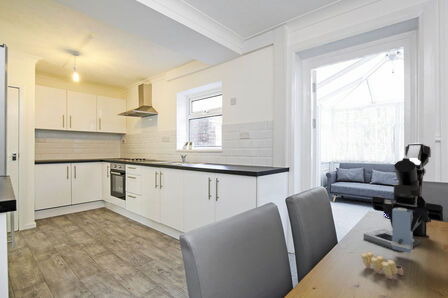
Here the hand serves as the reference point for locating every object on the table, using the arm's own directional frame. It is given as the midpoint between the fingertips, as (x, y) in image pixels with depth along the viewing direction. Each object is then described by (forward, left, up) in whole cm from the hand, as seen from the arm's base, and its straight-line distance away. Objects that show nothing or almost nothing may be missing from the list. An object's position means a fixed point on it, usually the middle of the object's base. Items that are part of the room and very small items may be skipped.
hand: (401, 229), depth 72 cm
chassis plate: (-4, -15, -9) cm, 18 cm away
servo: (-1, -1, -7) cm, 7 cm away
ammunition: (+11, +10, -10) cm, 18 cm away
